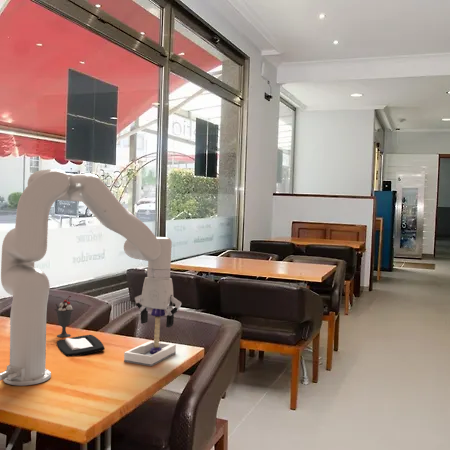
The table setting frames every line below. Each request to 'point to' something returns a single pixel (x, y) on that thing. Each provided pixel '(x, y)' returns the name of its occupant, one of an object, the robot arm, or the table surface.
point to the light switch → (80, 345)
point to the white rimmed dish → (145, 357)
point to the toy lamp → (157, 329)
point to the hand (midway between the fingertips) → (156, 324)
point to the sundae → (64, 316)
